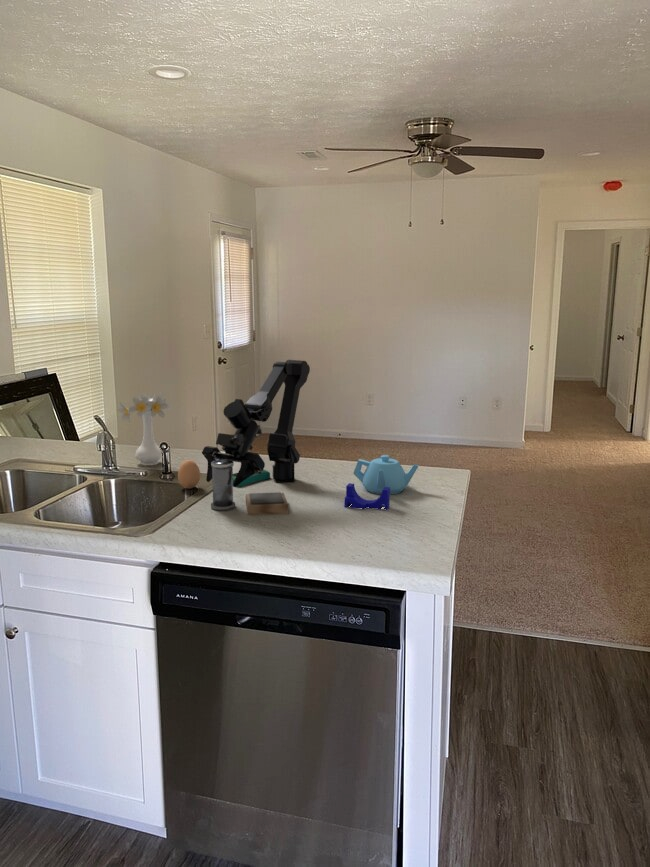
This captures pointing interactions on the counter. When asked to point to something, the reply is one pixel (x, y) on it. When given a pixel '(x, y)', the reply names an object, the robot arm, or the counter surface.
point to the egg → (188, 474)
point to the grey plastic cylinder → (222, 485)
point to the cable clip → (362, 503)
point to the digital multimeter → (254, 477)
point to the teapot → (383, 475)
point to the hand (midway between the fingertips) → (220, 483)
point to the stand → (266, 503)
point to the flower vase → (146, 425)
